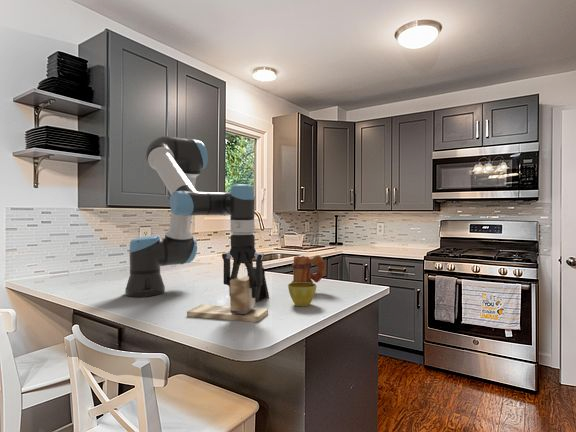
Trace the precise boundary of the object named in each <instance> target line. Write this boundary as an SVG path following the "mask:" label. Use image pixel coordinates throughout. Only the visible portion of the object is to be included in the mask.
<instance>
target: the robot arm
mask: <svg viewBox="0 0 576 432" xmlns="http://www.w3.org/2000/svg"><path fill="white" fill-rule="evenodd" d="M145 150H146V151H145V159H146V161H147V163H148V165H149V167H151V169H153V170H155V171H156V172H157V174H158V176H159V177H160V179H161V180H162V182H163V184H164V185H165V187H166V189H167V190H168V192H169V193H170V197H169V207H170V220H169V229H168V230H167V231H166V232H164V238H163V237H161V236H160V235H156V234H154V235H147V236H141V237H140V236H139V237H136V238H133V239H131V240H130V242H129V250H128V253H129V278H128V280H127V284H126V287H125V292H124V294H125V296H126V295H127V297H130V296H131V297H132V298H143V297H152V296H157V295H160V294H161V295H163V294H164V293H165V292H166V286H165V283H164V281H163V276H162V275H161V267H164V266H173V265H175V266H176V265H184V264H190V263H191V262H192V261H194V259H195V258H196V256H197V253H198V246H197V243H198V241H197V239H196V238H195V237H194V234H193V233H192V232H191V228H192V227H191V226H192V218H193V217H192V216H229V217H230V233H231V235H230V250H229V251H228V252H224V253H222V254H221V257H222V260H223V261H222V262H223V285H227V286H228V288H229V289H228V290H229V291H228V293H229V296H230V280H232V279H234V278H237V277H238V275H239V270H240V266H241V264H242V265H244V266H245V267H246V273H247V272H248V273H247V275H248V276H249V280H250V284H251V287H250V288H249V309H253V308H254V307H255V308H256V302H255V300H254V298H256V297H257V287H258V286H260V285H262V284H263V268H264V267H263V260H264V257H265V254H264V253H259V252H257V251H256V248H255V247H256V246H255V245H256V239H255V234H254V233H255V232H256V230H255V229H256V227H255V199H256V198H255V189H254V186H253V185H251V184H239V183H238V184H232V185H231V186H230V188H229V192H213V191H212V192H209V191H197V189H196V180H197V177H199V176H200V175H201V171H202V170H203V169H204V170H205V169H206V167H207V165H208V160H209V159H208V150H207V148H206V145H205V144H204V143H203V142H202V141H201V140H198V139H193V138H184V137H174V136H168V135H165V136H162V135H161V136H160V137H157V138H155V139H153V140H152V141H150V142H149V144H148V145H147V147H146V149H145ZM231 258H232V259H233V262H232V269H231ZM254 258H255V267H256V276H255V272H254V268H253V267H254V266H253V265H254V263H253V259H254Z"/></svg>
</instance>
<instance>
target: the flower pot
mask: <svg viewBox="0 0 576 432" xmlns="http://www.w3.org/2000/svg"><path fill="white" fill-rule="evenodd" d="M287 287H288V293H289V296H290V298H291V300H292V302H293V304H294V306H297V307H308V306H310V304H311V303H312V302H313V299H314V297H315V294H316V291H317V284H316V283H314V282H313V283H308V282H294V283H291V282H290V283H288V284H287Z"/></svg>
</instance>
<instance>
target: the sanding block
mask: <svg viewBox="0 0 576 432" xmlns="http://www.w3.org/2000/svg"><path fill="white" fill-rule="evenodd" d="M250 287H251V284H250V280H249V276H247V275H240V276H237V278H234V279H232V280H230V295H229V297H230V311H231V313H239V314H246V313H248V312H249V311H251V310H252V309H249V288H250ZM254 300H255V298H254ZM254 308H256V306H255V307H254ZM254 308H253V309H254Z"/></svg>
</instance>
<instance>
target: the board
mask: <svg viewBox="0 0 576 432" xmlns="http://www.w3.org/2000/svg"><path fill="white" fill-rule="evenodd" d="M268 314H269V309H268V308H256V307H255V308H254V309H252V310H251V311H249V312H248V313H246V314H239V313H231V311H230V306H229V305H228V306H227V305H216V304H215V305H213V304H200V305H197V306H196V307H193V308H192V309H189V310H187V311H186V317H193V318H203V319H204V318H205V319H217V320H225V321H227V320H228V321H241V322H253V323H254V322H255V323H259V322H260V321H261V320H262V319H264V318H265V317H266V316H267V315H268Z"/></svg>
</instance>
